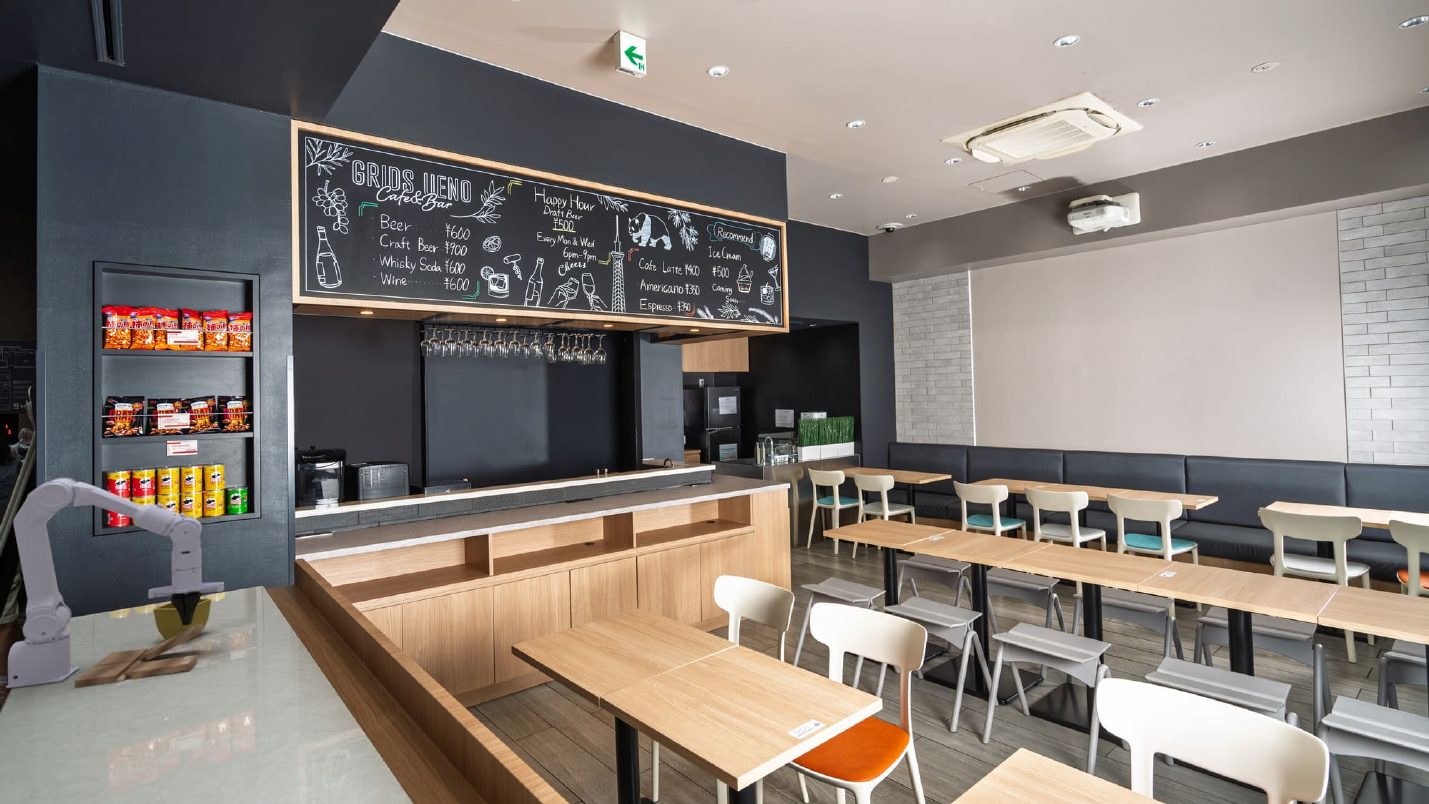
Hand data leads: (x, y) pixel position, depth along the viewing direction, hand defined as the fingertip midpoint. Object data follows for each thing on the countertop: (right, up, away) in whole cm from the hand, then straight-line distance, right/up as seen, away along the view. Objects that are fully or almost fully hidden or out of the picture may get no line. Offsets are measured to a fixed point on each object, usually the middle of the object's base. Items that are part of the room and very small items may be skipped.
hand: (187, 624), depth 165 cm
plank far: (-2, -5, -1) cm, 5 cm away
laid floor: (-9, -8, -9) cm, 15 cm away
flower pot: (-10, -8, +12) cm, 18 cm away
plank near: (+2, -7, -10) cm, 13 cm away
